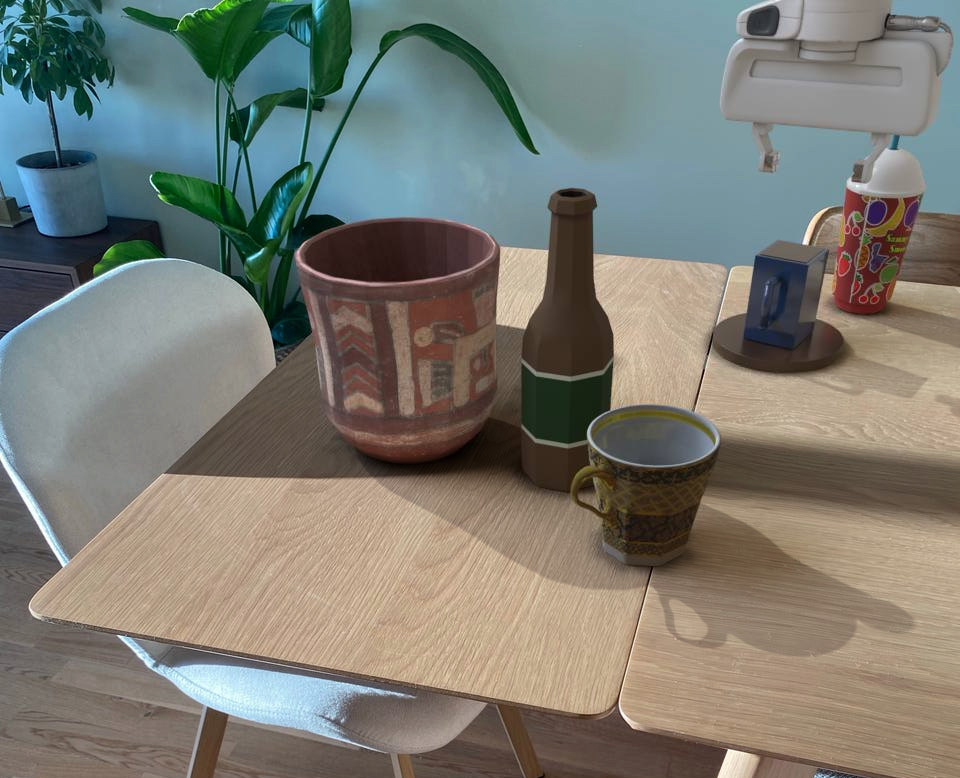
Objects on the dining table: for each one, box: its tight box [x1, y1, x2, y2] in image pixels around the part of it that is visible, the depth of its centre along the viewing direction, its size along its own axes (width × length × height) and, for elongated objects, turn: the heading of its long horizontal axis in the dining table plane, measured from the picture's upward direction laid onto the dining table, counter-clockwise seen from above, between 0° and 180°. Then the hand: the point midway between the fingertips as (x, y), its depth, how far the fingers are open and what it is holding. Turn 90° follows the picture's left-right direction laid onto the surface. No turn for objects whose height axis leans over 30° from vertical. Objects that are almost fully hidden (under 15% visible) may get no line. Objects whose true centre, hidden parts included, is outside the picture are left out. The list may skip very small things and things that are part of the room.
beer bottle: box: [520, 187, 615, 493], centre depth 81 cm, size 8×8×24 cm
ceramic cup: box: [570, 403, 722, 567], centre depth 76 cm, size 13×10×10 cm
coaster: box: [712, 312, 845, 374], centre depth 108 cm, size 14×14×1 cm
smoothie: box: [831, 135, 927, 315], centre depth 110 cm, size 8×8×20 cm
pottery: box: [294, 216, 501, 465], centre depth 89 cm, size 18×18×18 cm
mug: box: [743, 239, 830, 350], centre depth 104 cm, size 8×6×9 cm
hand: (813, 176), depth 97 cm, fingers open, 8 cm apart
